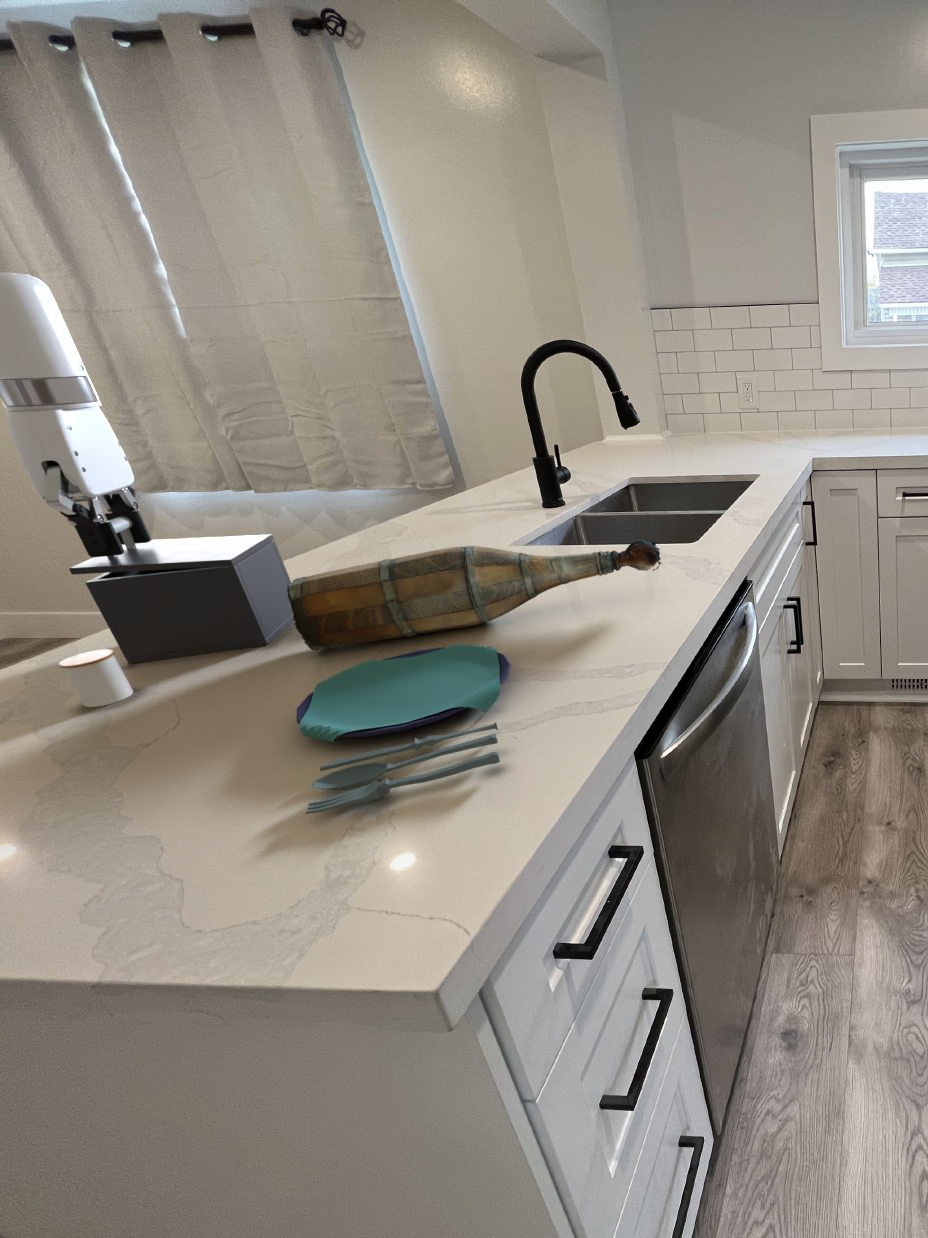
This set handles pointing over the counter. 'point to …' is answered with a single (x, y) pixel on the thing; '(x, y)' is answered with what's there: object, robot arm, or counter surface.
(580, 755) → the counter surface
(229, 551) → the lid
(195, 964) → the counter surface
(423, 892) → the counter surface
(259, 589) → the dark grey lidded box
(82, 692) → the white cylinder
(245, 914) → the counter surface
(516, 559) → the decorative bottle
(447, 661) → the cutlery set
